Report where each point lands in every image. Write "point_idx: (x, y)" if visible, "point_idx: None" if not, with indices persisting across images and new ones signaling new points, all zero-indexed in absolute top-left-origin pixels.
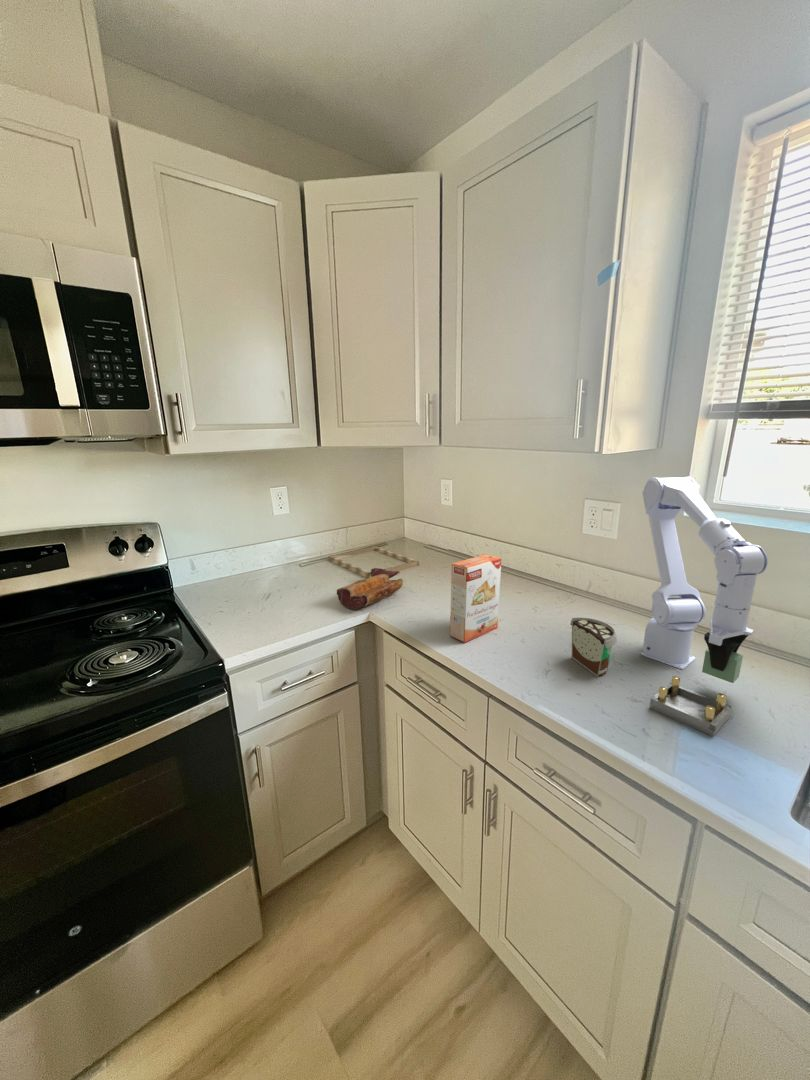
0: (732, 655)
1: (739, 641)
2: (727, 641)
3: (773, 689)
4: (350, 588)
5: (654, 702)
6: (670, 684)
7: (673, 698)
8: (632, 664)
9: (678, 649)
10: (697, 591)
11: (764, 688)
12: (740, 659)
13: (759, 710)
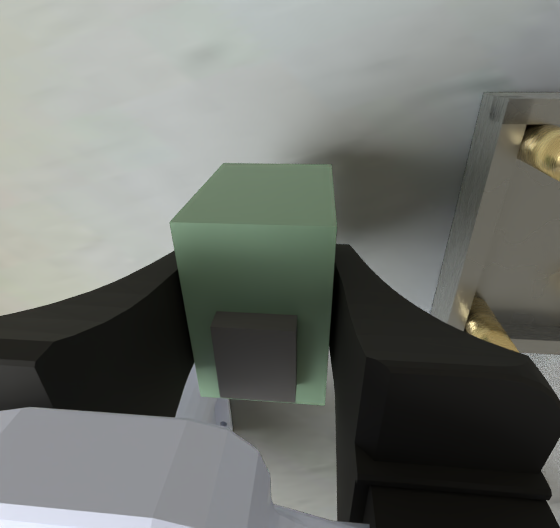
0: (257, 276)
1: (116, 337)
2: (448, 472)
3: (29, 20)
4: None
5: None
6: None
7: (524, 299)
8: (320, 430)
9: (183, 407)
10: None
11: (63, 57)
12: (233, 214)
13: (310, 3)
